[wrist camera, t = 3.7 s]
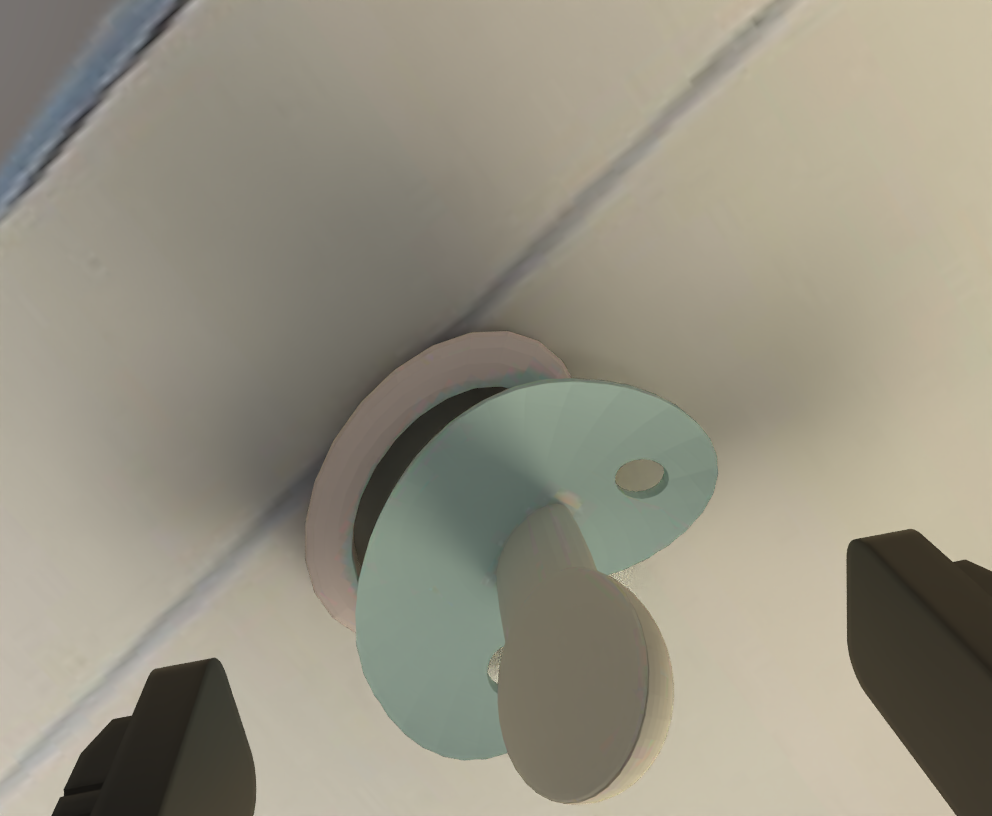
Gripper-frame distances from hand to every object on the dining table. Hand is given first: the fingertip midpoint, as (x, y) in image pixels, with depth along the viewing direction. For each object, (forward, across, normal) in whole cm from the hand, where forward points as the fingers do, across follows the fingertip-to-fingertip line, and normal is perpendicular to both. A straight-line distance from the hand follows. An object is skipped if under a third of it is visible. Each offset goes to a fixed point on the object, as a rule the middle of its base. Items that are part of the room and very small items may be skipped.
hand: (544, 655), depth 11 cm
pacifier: (+6, 0, 0) cm, 6 cm away
